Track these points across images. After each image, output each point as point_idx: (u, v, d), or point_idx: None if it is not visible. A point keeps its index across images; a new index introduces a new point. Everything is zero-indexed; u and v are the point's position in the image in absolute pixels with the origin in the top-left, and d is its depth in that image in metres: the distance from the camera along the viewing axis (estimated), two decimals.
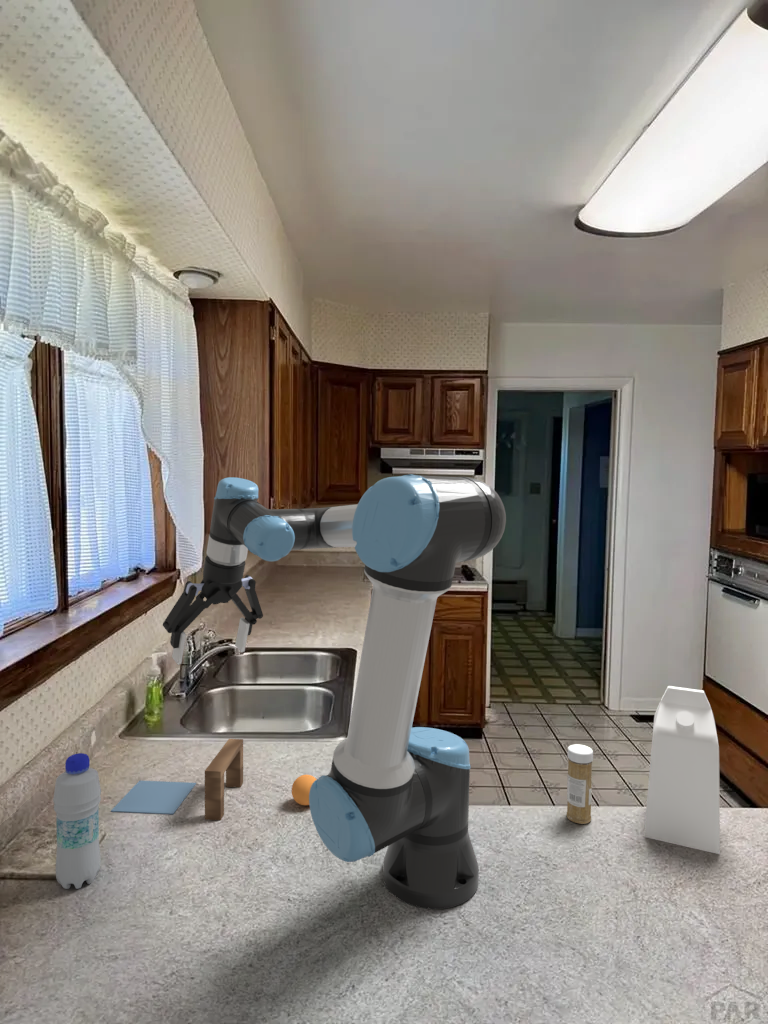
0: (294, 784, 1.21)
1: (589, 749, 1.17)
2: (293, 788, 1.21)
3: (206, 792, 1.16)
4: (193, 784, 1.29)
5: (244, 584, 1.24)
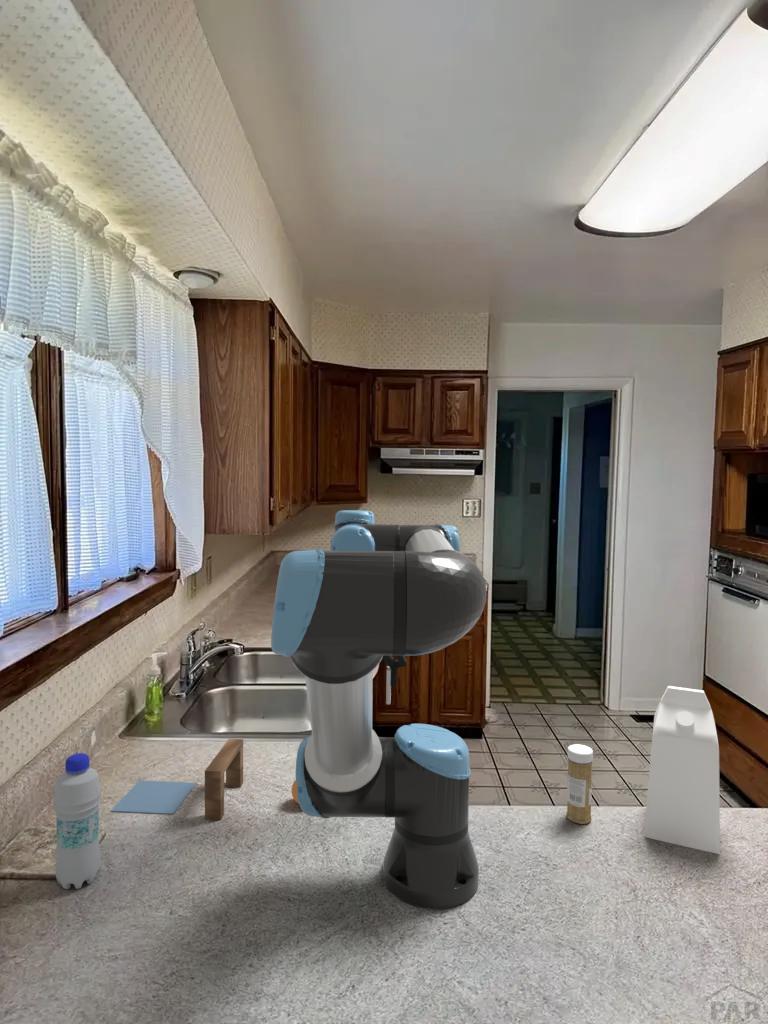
0: (294, 784, 1.21)
1: (589, 749, 1.17)
2: (293, 788, 1.21)
3: (206, 792, 1.16)
4: (193, 784, 1.29)
5: None
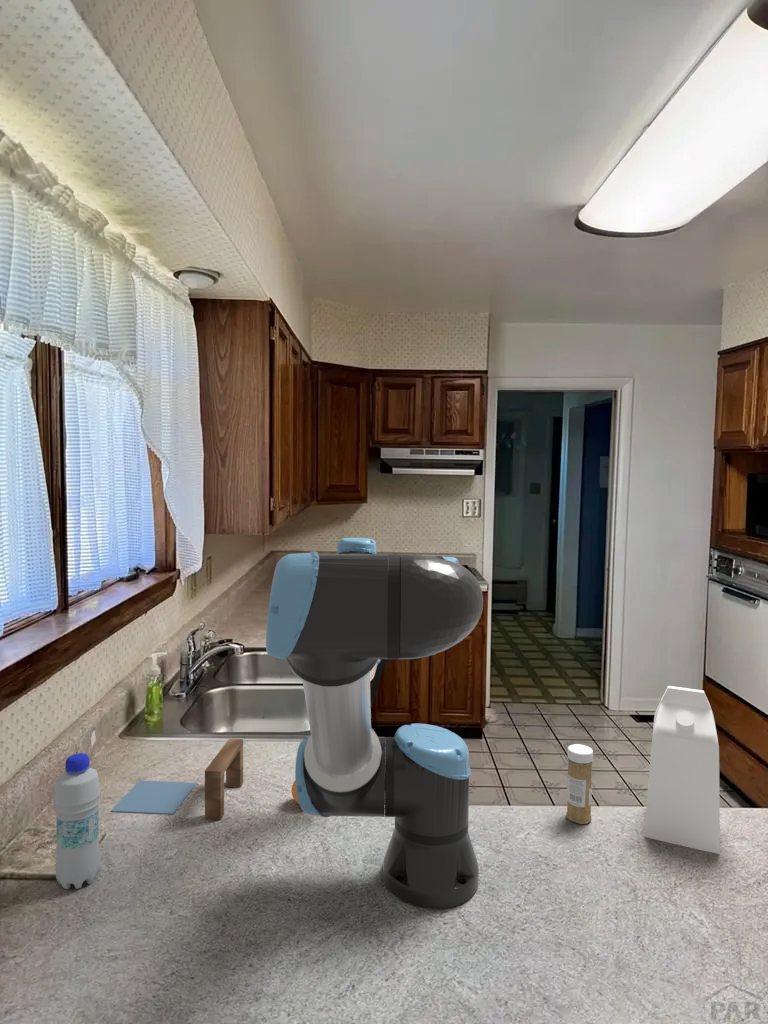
0: (294, 784, 1.21)
1: (589, 749, 1.17)
2: (293, 788, 1.21)
3: (206, 792, 1.16)
4: (193, 784, 1.29)
5: None
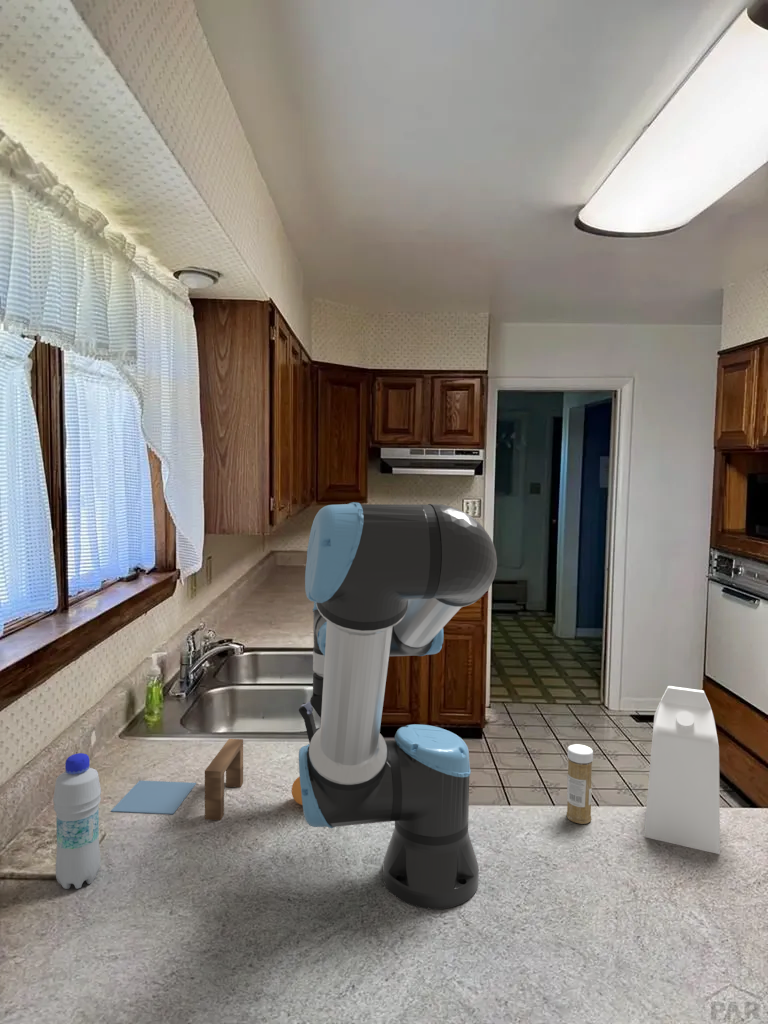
0: (294, 784, 1.21)
1: (589, 749, 1.17)
2: (293, 788, 1.21)
3: (206, 792, 1.16)
4: (193, 784, 1.29)
5: None
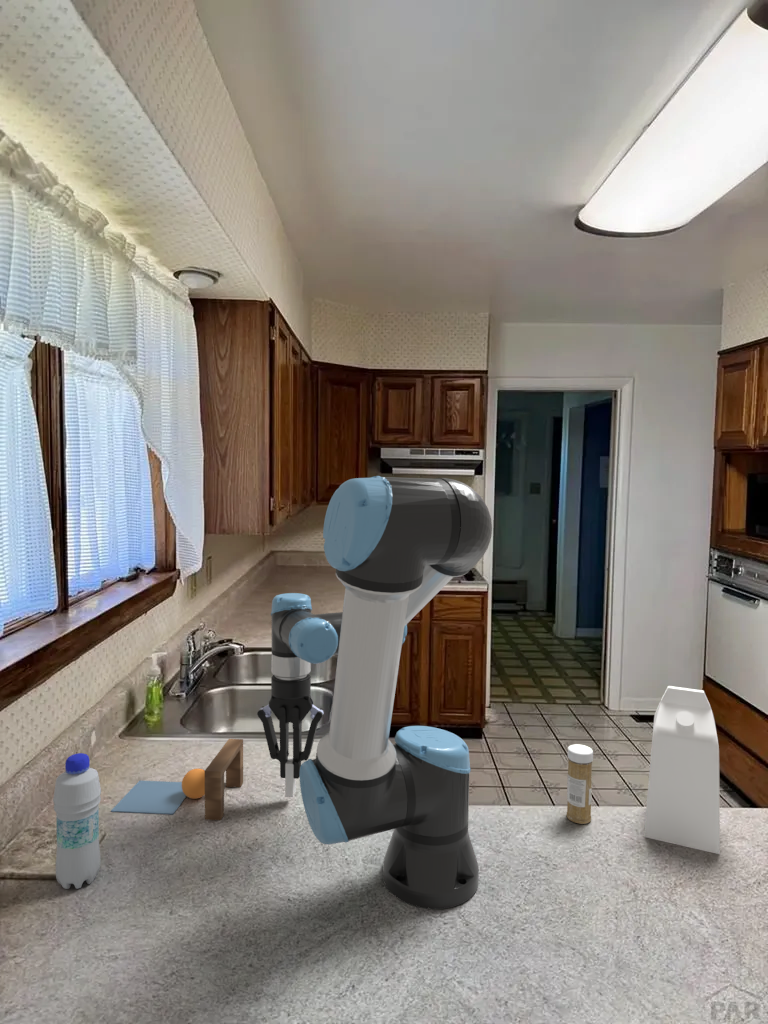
0: None
1: (589, 749, 1.17)
2: None
3: (206, 792, 1.16)
4: None
5: (312, 711, 1.21)
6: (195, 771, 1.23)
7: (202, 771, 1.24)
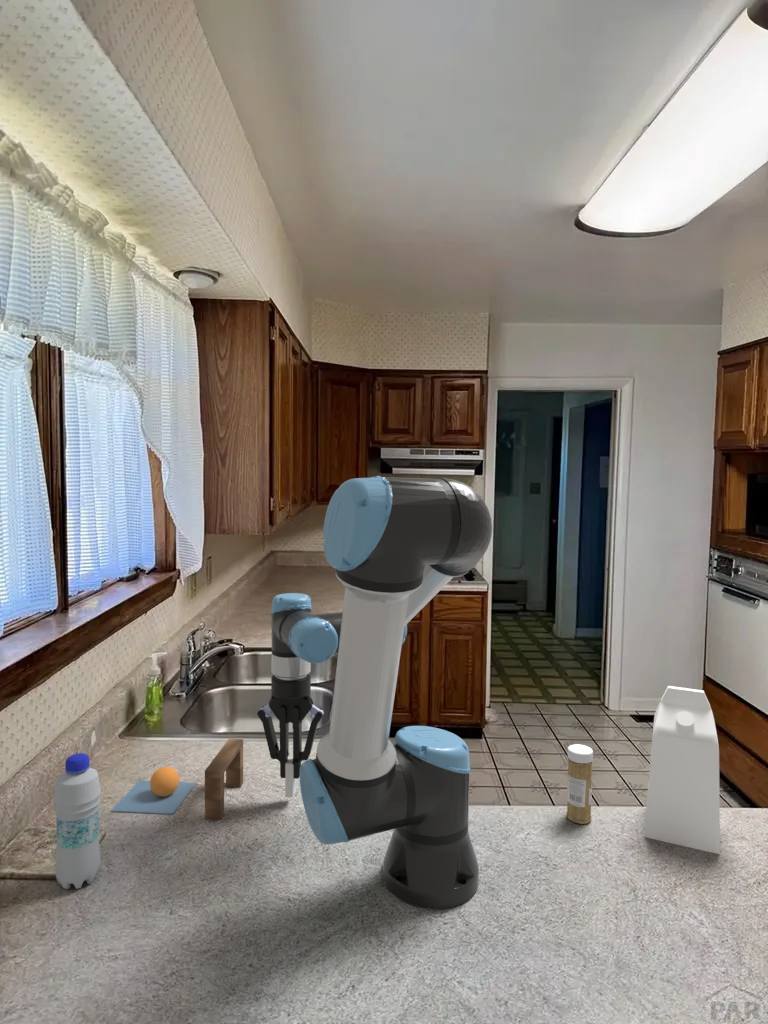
0: (174, 783, 1.23)
1: (589, 749, 1.17)
2: (171, 782, 1.23)
3: (206, 792, 1.16)
4: (193, 784, 1.29)
5: (312, 711, 1.21)
6: None
7: None
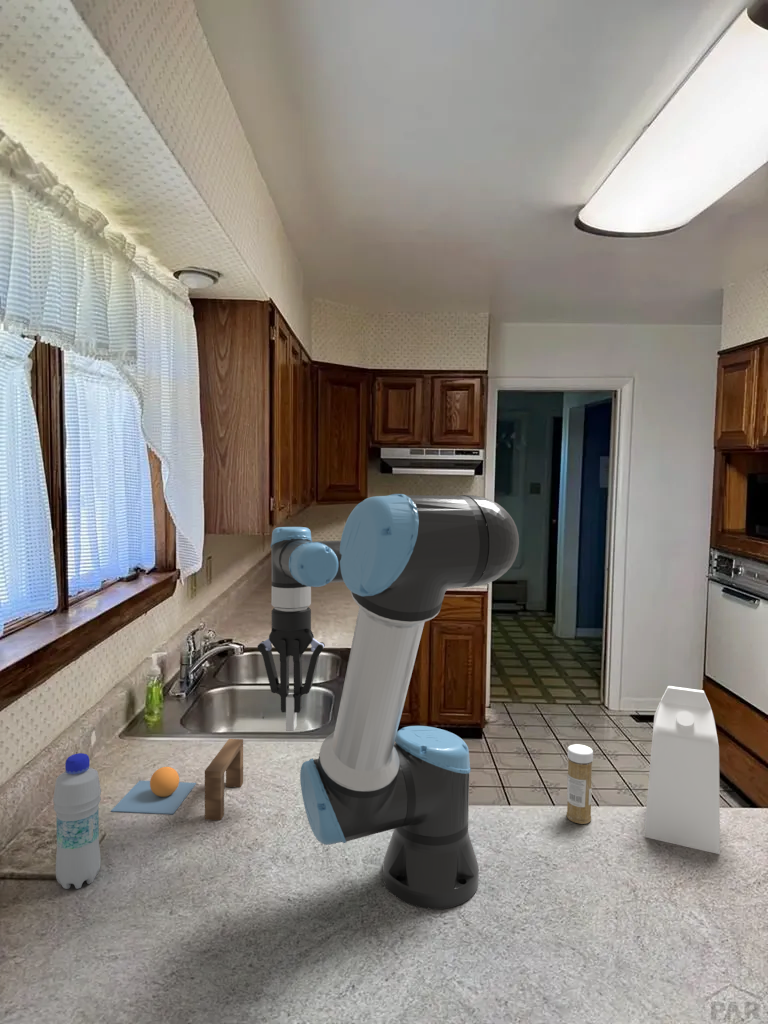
0: (174, 783, 1.23)
1: (589, 749, 1.17)
2: (171, 782, 1.23)
3: (206, 792, 1.16)
4: (193, 784, 1.29)
5: (313, 644, 1.20)
6: None
7: None
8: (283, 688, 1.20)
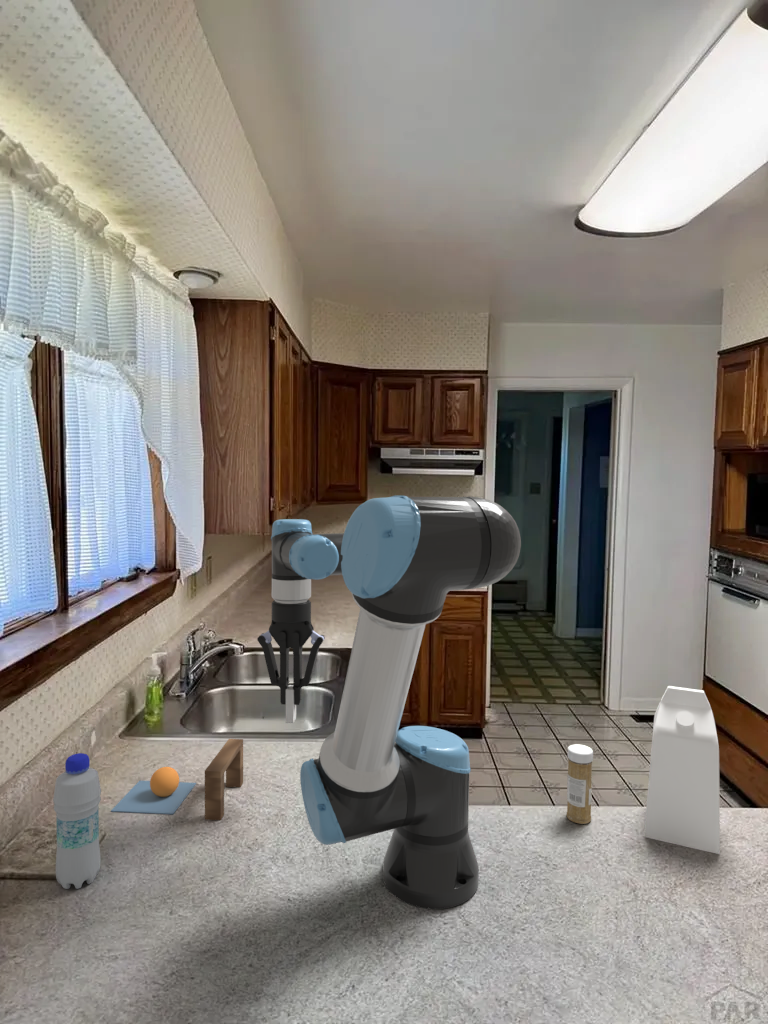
0: (174, 783, 1.23)
1: (589, 749, 1.17)
2: (171, 782, 1.23)
3: (206, 792, 1.16)
4: (193, 784, 1.29)
5: (313, 636, 1.20)
6: None
7: None
8: (283, 680, 1.20)
